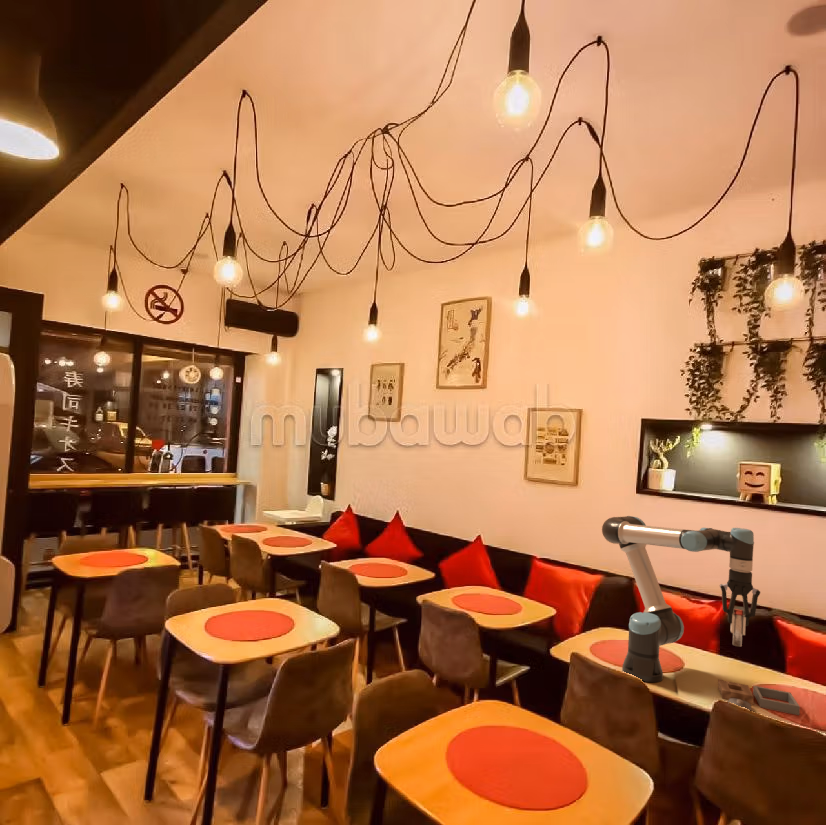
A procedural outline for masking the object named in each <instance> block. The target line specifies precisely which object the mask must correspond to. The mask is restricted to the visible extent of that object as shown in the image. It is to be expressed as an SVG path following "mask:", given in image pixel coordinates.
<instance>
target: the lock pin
mask: <svg viewBox="0 0 826 825" xmlns="http://www.w3.org/2000/svg"><path fill="white" fill-rule="evenodd" d="M733 614H734V615H735V621H734V633H732V646H735V647H742V646H743V645H742V644H743V634H742V629H743V615H744V609H743V610H742V609H739V608H734V610H733Z"/></svg>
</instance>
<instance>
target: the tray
mask: <svg viewBox="0 0 826 825" xmlns="http://www.w3.org/2000/svg"><path fill="white" fill-rule="evenodd" d="M752 690H753V691H752V694H753V696H754V699H755V700H756V701H757V704H758V706H759V708H760V709H761V708H763V709H767V710H771V711H777V712H780V713H781V712H782V713H786V714H790V715H796V716H800V711H801V710H800V709H801V706H800V704H799V703H798V702H797V700H796V699H795V697H794V696H793V694H792V692H788V691H785V690H784V691H783V690H778V689H774V688H769V687H763V686H758V685H753V689H752ZM768 698H769V699H768ZM778 700H779V701H778Z"/></svg>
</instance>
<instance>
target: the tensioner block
mask: <svg viewBox="0 0 826 825" xmlns="http://www.w3.org/2000/svg"><path fill="white" fill-rule="evenodd" d="M717 688H718V689H717V690H718V691H719V695H720V697H721V699H723V700H727V701H728V703H729V702H731V703H734V704H736V705H738V706H741V707H745V708H747V709H749V710H751V711H752V705H754V698H755V696H754V694H753V691H751V688H750V686H749V685H748V684H743V683H738V682H732V681H728V680H723V679H718V681H717Z"/></svg>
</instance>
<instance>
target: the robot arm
mask: <svg viewBox="0 0 826 825" xmlns="http://www.w3.org/2000/svg"><path fill="white" fill-rule="evenodd" d="M601 533H602V536H603V537H604V539H605V540H606V541H607V542H609V543H611V544H614V545H619V548H620V550H621V551H622V552H624V553H625V556H626V557H627V561H628V563H629V565H630V566H629V567H630V569H631V571H632V575H633V577H634V580H635V583H636V586H637V588H638V591H639V593H640V597H641V599H642V602H643V606H644V610H643V612H641V611H639V612H635V613H633V614H632V615H631V616H630V618H629V623H628V643H627V653H626V655H625V658H624V659H623V660H624V661H623V663H622V668H621V669H622V672H623V671H624V672H626V673H629V674H632V675H634V676H636V677H638V678H640V679H642V680H644V681H645V683H659V682H661V681H662V680H664V677H663V676H664V671H663V668H662V665H661V661H660V647H661V646H663V645H664V646H665V645H669V644H674V643H675V642H677V641H679V640H680V639H681V638H682V637H683V635H684V630H685V626H684V622H683V620H682V618H681V617H680V616H679V615H677V614H676V613H675V612H674V611H673V608H672V606H671V605H669V604H667V602H666V600H665V598H664V595H663V592H662V588H661V587H660V584H659V581H658V579H657V576H656V573H655V570H654V568H653V565H652V562H651V559H650V557H649V554H648V551H647V549H646V548H647V546H648V545H649V546H655V547H656V546H657V547H665V548H673V549H681V550H682V549H683V550H686V551H688V552H693V553H694V552H695V553H699V552H701V551H702V552H703V551H711V550H719V551H725V552H729V565H728V566H729V568H730V569H728V580H727V582H726V583H724V584H722V583H721V584H719V588H720V590H721V601H722V603H721V604H722V610H723V613H726V614H727V622H728V624H730V633H731V634H733V633H734V621H735V615H734V609H735V604H736V600H737V597H738V596H741V598H742V604H743V629H742V636H746V627H749V624H750V618H751V617H752V618H754V617H756V611H757V605H758V600H759V599H758V597H759V596H760V594H761V591H760V590H759V589H757V588H755V587H754V586H753V573H752V571H753V561H754V560H753V558H754V544H755V540H754V539H755V538H754V532H753V531H752V530H751V529H747V528H741V527H732V528H731V529H730V531H725V530H721V529H715V528H713V527H701V528H700V529H699V530H693V529H683V528H671V527H662V526H651V525H646V523H645V522H644V520H642V519H641V518H639V517H638V516H630V515H627V516H613V517H609V518H608V519H606V520H605V521H604V522H603V524H602V526H601ZM728 588H729V590H730V592H731V596H730V600H729V604H728V602H727V597H728V596H727V590H728ZM750 592H751V593H752V598H751V605H750V607H749V602H748V595H749V593H750ZM749 608H750V611H749ZM644 681H643V682H644Z"/></svg>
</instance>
